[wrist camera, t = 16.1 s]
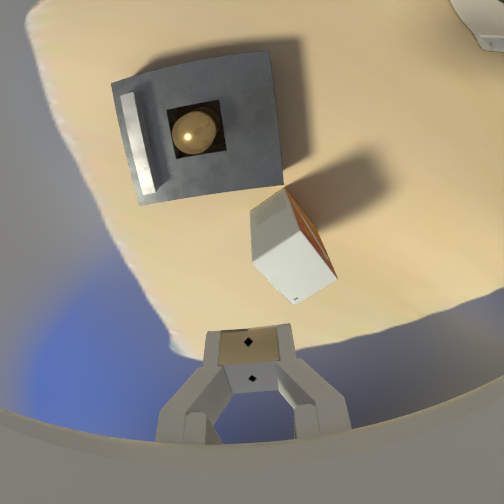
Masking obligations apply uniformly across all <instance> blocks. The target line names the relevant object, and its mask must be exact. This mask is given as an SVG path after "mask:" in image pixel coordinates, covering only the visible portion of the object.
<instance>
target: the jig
mask: <svg viewBox="0 0 504 504" xmlns="http://www.w3.org/2000/svg"><path fill="white" fill-rule="evenodd" d="M111 87H112V92H113V97H114V103H115V108H116V113H117V117H118V122H119V127H120V131H121V136H122V140H123V144H124V148H125V153H126V157H127V161H128V165H129V168H130V172H131V176H132V180H133V183H134V187H135V191H136V194H137V198H138V201H139V205H140V206H142V205H147V204H153V203H158V202H164V201H170V200H176V199H182V198H189V197H195V196H201V195H208V194H215V193H222V192H229V191H237V190H245V189H252V188H261V187H269V186H278V185H284V182H283V171H282V160H281V150H280V140H279V130H278V121H277V112H276V103H275V95H274V86H273V78H272V70H271V63H270V55H269V51H259V52H249V53H241V54H233V55H226V56H219V57H213V58H207V59H202V60H197V61H192V62H187V63H182V64H178V65H173V66H169V67H165V68H161V69H157V70H153V71H150V72H146V73H142V74H139V75H136V76H132V77H129V78H126V79H123V80H120V81H117V82H114V83H111ZM214 100H219V102H220V109H221V115H222V122H223V128H224V135H225V141H226V143H221V144H214V145H210V147H209V148H208V149H206V150H205V151H203V152H201V153H198V154H187V153H185V152H182V151H181V150H179V149H178V148H177V147H176V145H175V144H174V141H173V138H172V130H173V127H174V124H175V123H176V121H177V120H178V116H177V111H176V108H177V107H182V106H187V105H192V104H197V103H203V102H208V101H214Z"/></svg>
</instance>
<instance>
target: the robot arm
mask: <svg viewBox="0 0 504 504" xmlns="http://www.w3.org/2000/svg"><path fill="white" fill-rule="evenodd" d="M450 2H451V4H452V6H453V8H454V9H455V11H456V13H457V14H458V16H459V17H460V18H461V20H462V21H463V22H464V23H465V25H466V26H467V27H468V28H469V29H470V30H471V31H472V32H473V34H474V35H475V37H476V39H477V41H478V43H479V45H480V47H481V48H482V49H483V50H485V51H495V52H504V0H450ZM489 44H490V45H489ZM270 390H279V392H280V393H281V394H282V395H283V396H284V398H285V399H286V400H287V401H288V402H289V404H290V405H291V406H292V407H293V408H294V435H295V439H293V440H285V441H276V442H263V443H249V444H222V441H221V439H220V438H219V436H218V434H217V433H216V431H215V429H214V428H213V425H214V423H215V422H216V420H217V419H218V417H219V416H220V414H221V413H222V411H223V410H224V408H225V406H226V405H227V403H228V402H229V400H230V399H231V397H232V396H233V395H232V394H236V393H247V392H257V391H270ZM0 504H504V375H503V376H501V377H499V378H497V379H495V380H493V381H491V382H489V383H487V384H485V385H483V386H481V387H479V388H477V389H475V390H472V391H470V392H468V393H466V394H463V395H461V396H458V397H456V398H454V399H451V400H449V401H446V402H443V403H441V404H438V405H436V406H433V407H430V408H427V409H424V410H421V411H418V412H415V413H412V414H409V415H406V416H403V417H400V418H396V419H392V420H389V421H385V422H381V423H378V424H374V425H370V426H365V427H361V428H357V429H352V428H351V424H350V420H349V416H348V411H347V407H346V403H345V399H344V397H343V396H342V395H341V394H340V393H339V392H338V391H336V390H335V389H334V388H333V387H332V386H331V385H330V384H329V383H327V382H326V381H325V380H324V379H323V378H322V377H321V376H320V375H318V374H317V373H316V372H315V371H314V370H313V369H312V368H311V367H310V366H308V365H307V364H306V363H305V362H304V361H303V360H302V359H301V358H299V359H296V352H295V346H294V340H293V335H292V329H291V325H290V323H288V324H281V325H272V326H264V327H256V328H249V329H236V330H221V331H208V332H207V334H206V341H205V350H204V359H203V367H199V368H198V369H197V370H196V371H195V372H194V373H193V374H192V376H191V377H190V378H189V379H188V380H187V381H186V382H185V384H184V385H183V386H182V387H181V388H180V389H179V390H178V391H177V393H176V394H175V395H174V396H173V397H172V398H171V399H170V400H169V401H168V403H167V404H166V405H165V406H164V407H163V408H162V409H161V410H160V414H159V420H158V426H157V432H156V439H155V442H147V441H138V440H129V439H122V438H115V437H109V436H103V435H97V434H92V433H87V432H82V431H77V430H73V429H68V428H64V427H60V426H56V425H52V424H49V423H45V422H41V421H38V420H35V419H32V418H28V417H25V416H22V415H19V414H16V413H13V412H11V411H8V410H5V409H2V408H0Z"/></svg>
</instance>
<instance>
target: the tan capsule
mask: <svg viewBox="0 0 504 504" xmlns="http://www.w3.org/2000/svg"><path fill="white" fill-rule="evenodd" d="M219 128H220V119H219V116H218V115H217V113H216V112H215V111H214V110H212V109H210V108H206V107H201V108H197V109H195V110H193V111H191V112H189V113H187V114H186V115H184V116H182V117H181V118H179V119H178V120H177V121H176V123H175V124H174V127H173V130H172V138H173V141H174V144H175V145H176V147H177V148H178V149H179V150H181V151H182V152H185V153H187V154H198V153H201V152H203V151H205V150H206V149H208V148H209V147H210V145H211V144H212V142H213V140H214V138H215V136H216V134H217V132H218V130H219Z"/></svg>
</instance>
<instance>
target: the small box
mask: <svg viewBox="0 0 504 504" xmlns="http://www.w3.org/2000/svg"><path fill="white" fill-rule="evenodd" d="M250 231H251V250H252V263H253V265H254V266H255V267H256V268H257V269H258V270H259V271H260V272H261V273H262V274H263V275H264V277H265V278H266V279H267V280H268V281H269V282H270V283H271V284H272V285H273V287H274V288H275V289H277V290H278V291H279V292H280V293H281V294H282V295H283V296H284V297H285V298H286V299H287V300H288V301H289V302H290V303H291V304H292V305H293V306H294V305H296V304H297V303H299V302H301V301H303V300H304V299H306V298H308V297H310V296H311V295H313V294H314V293H316V292H318V291H319V290H321V289H322V288H324V287H326V286H327V285H329V284H331V283H332V282H334V281H335V280H337V279H338V278H337V275H336V273H335V271H334V269H333V266H332V264H331V262H330V259H329V257H328V254H327V252H326V250H325V248H324V245H323V243H322V241H321V238H320V236H319V234H318V231H317V229H316V227H315V226H314V224H313V223H312V222H311V221H310V220H309V218H308V217H307V216H306V214H305V213H304V212H303V210H302V209H301V208H300V207H299V205H298V204H297V203H296V201H295V200H294V199H293V197H292V196H291V195H290V193H289V192H288V191H287V189H286V188H285V187H284V188H282V189H281V190H280V191H278V192H277V193H275V194H274V195H273V196H271V197H270V198H269V199H267V200H266V201H264V202H263V203H261V204H260V205H259V206H257V207H256V208H255V209H253V210H252V211H250Z"/></svg>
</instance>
